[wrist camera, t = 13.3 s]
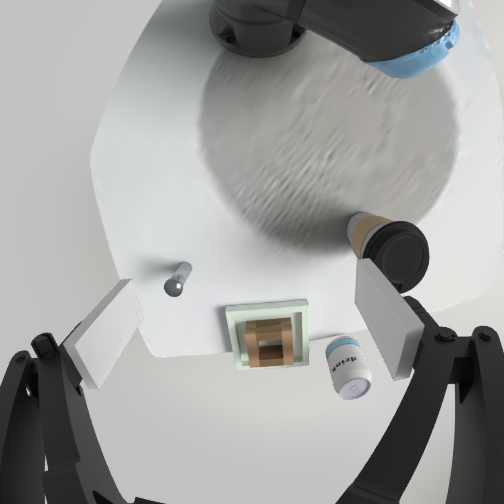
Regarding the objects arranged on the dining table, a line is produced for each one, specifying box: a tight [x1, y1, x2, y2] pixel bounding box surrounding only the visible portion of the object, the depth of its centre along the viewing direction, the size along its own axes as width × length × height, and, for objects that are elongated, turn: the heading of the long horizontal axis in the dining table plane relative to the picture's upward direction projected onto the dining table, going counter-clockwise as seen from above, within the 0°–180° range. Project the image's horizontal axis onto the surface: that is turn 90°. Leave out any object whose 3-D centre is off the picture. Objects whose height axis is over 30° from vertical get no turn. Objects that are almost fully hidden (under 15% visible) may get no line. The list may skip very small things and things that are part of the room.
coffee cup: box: [347, 212, 429, 294], centre depth 36 cm, size 9×9×15 cm
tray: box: [225, 299, 309, 370], centre depth 50 cm, size 14×14×2 cm
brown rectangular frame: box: [245, 317, 294, 368], centre depth 49 cm, size 10×8×4 cm
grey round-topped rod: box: [164, 262, 192, 297], centre depth 43 cm, size 3×3×8 cm
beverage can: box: [326, 336, 372, 400], centre depth 46 cm, size 7×7×12 cm
